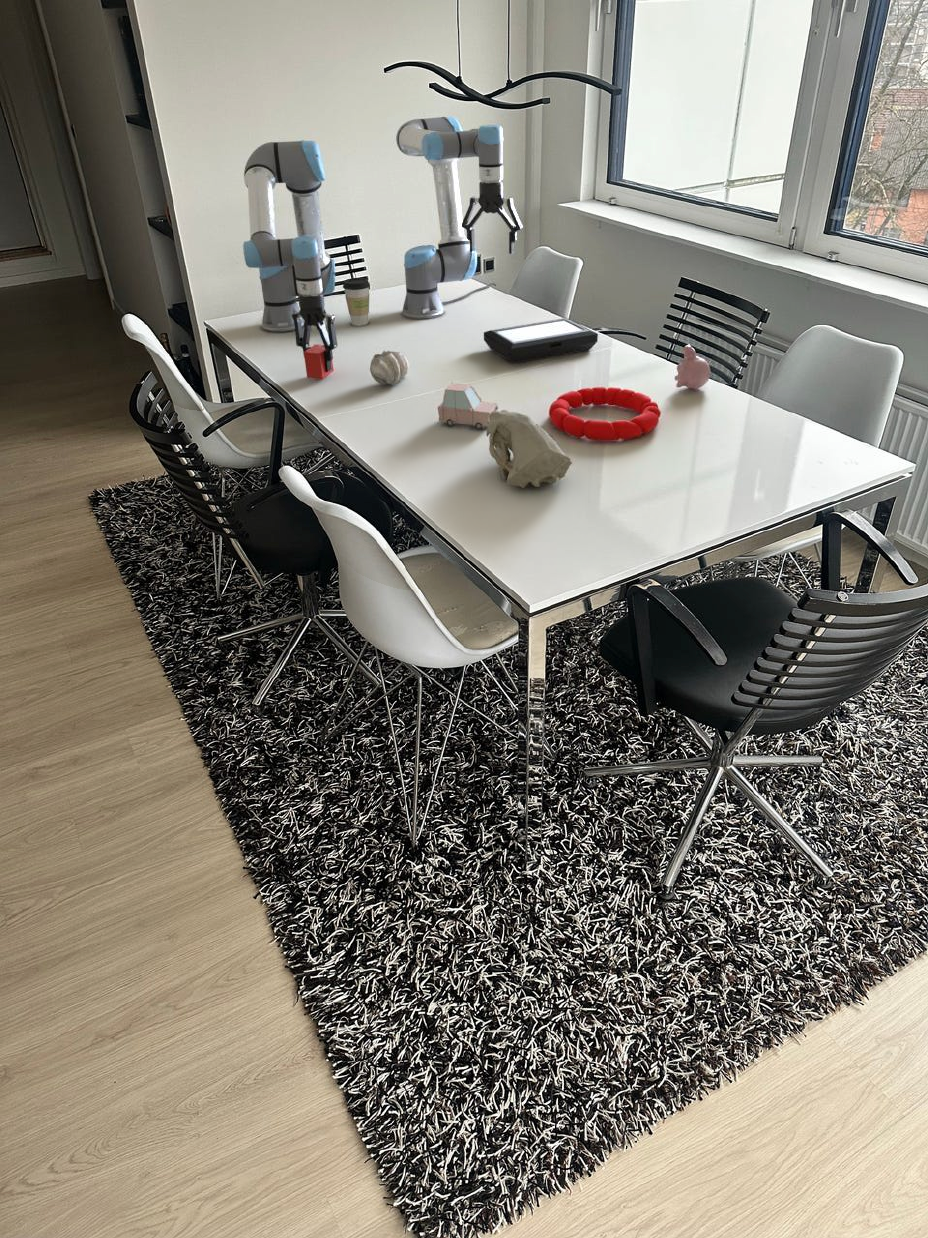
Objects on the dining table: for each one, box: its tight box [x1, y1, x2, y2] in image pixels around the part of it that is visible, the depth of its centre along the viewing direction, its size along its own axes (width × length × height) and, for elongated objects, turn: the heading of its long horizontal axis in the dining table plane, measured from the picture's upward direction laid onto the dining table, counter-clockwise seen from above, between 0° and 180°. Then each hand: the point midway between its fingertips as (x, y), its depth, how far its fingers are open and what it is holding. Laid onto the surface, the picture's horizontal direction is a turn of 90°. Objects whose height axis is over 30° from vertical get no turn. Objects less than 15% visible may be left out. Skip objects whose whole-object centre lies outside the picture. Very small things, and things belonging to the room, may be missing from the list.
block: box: [303, 344, 334, 380], centre depth 277 cm, size 6×8×8 cm
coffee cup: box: [342, 277, 371, 327], centre depth 323 cm, size 10×10×15 cm
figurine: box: [674, 344, 711, 390], centre depth 259 cm, size 9×11×12 cm
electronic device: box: [483, 317, 599, 364], centre depth 294 cm, size 32×6×20 cm
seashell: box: [369, 350, 409, 385], centre depth 270 cm, size 10×15×10 cm
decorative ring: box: [548, 386, 661, 442], centre depth 242 cm, size 7×30×30 cm
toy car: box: [437, 382, 499, 431], centre depth 243 cm, size 9×15×10 cm, turn 70°
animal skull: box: [485, 409, 573, 489], centre depth 216 cm, size 17×25×20 cm
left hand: (319, 369), depth 278 cm, fingers closed on block, 5 cm apart
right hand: (491, 251), depth 294 cm, fingers open, 13 cm apart
